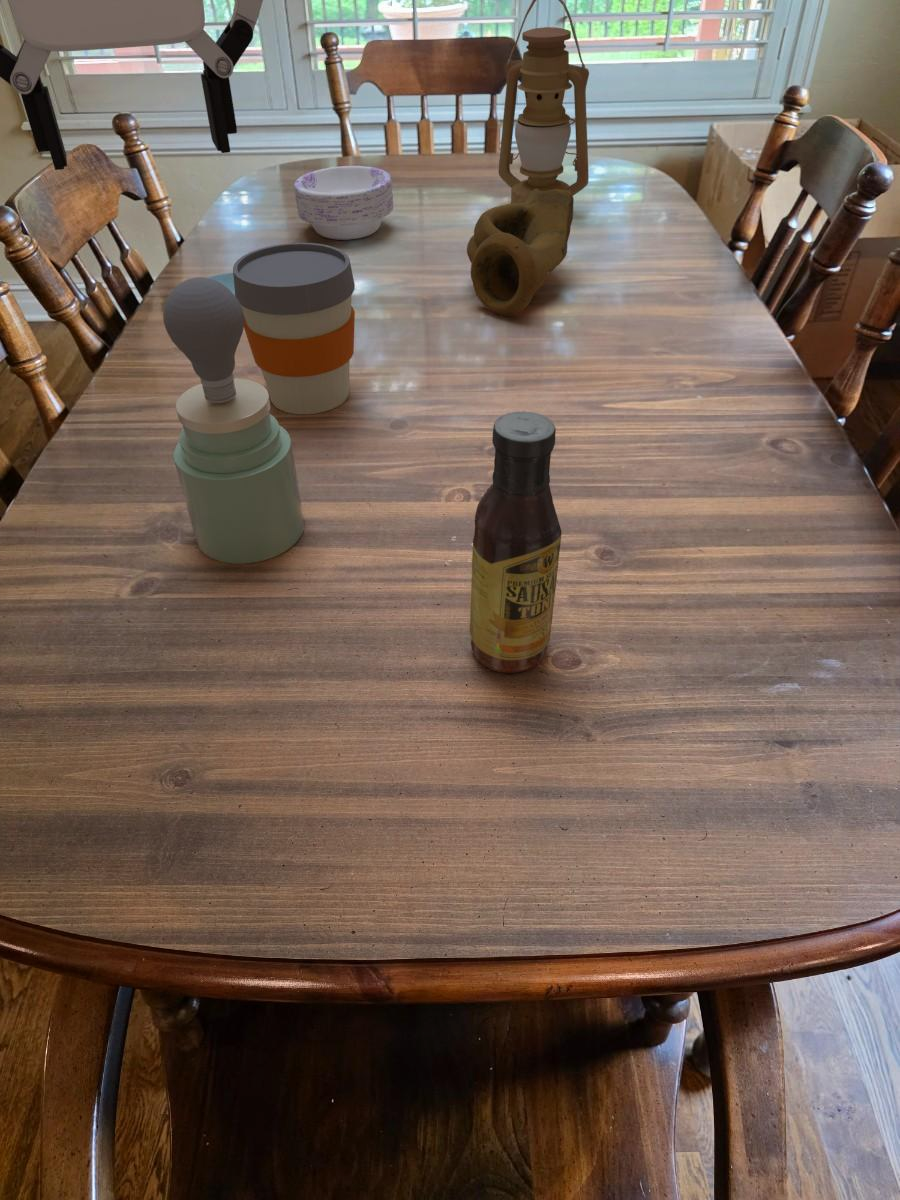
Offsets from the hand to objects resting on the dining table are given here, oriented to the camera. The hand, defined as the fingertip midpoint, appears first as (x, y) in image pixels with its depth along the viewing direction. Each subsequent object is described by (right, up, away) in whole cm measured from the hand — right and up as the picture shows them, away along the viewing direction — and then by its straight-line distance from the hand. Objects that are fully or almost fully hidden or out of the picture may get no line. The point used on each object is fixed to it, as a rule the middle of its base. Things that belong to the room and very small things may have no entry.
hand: (143, 155), depth 53 cm
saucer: (-10, +13, +65) cm, 67 cm away
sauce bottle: (+24, -31, +15) cm, 42 cm away
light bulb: (0, -11, +18) cm, 21 cm away
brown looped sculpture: (+29, +18, +70) cm, 77 cm away
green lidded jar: (0, -21, +27) cm, 34 cm away
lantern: (+34, +38, +92) cm, 105 cm away
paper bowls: (+2, +32, +86) cm, 92 cm away
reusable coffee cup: (+3, -4, +46) cm, 46 cm away
